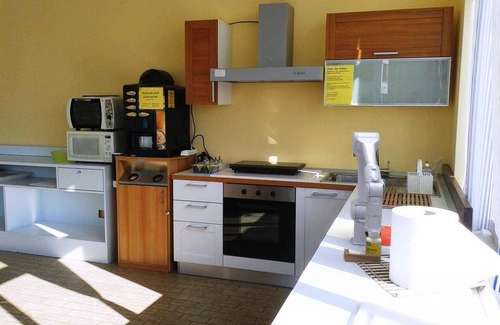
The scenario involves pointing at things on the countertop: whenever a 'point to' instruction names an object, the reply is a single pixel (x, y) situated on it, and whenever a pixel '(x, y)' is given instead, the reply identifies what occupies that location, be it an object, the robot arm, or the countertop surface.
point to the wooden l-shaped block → (361, 257)
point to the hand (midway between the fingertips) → (371, 251)
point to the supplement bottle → (373, 245)
